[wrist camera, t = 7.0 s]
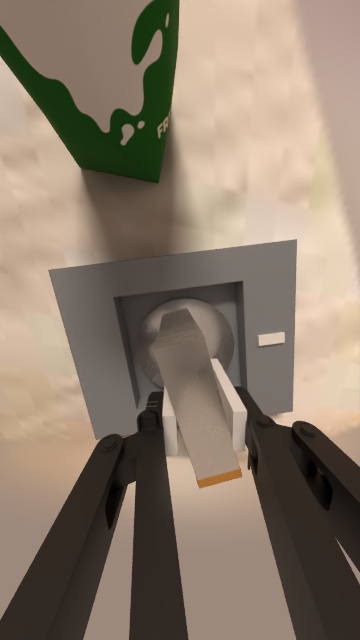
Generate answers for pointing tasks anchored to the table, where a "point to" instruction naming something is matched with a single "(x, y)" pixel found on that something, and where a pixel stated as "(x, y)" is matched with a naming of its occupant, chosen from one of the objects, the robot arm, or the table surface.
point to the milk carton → (98, 75)
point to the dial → (192, 379)
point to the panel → (170, 283)
